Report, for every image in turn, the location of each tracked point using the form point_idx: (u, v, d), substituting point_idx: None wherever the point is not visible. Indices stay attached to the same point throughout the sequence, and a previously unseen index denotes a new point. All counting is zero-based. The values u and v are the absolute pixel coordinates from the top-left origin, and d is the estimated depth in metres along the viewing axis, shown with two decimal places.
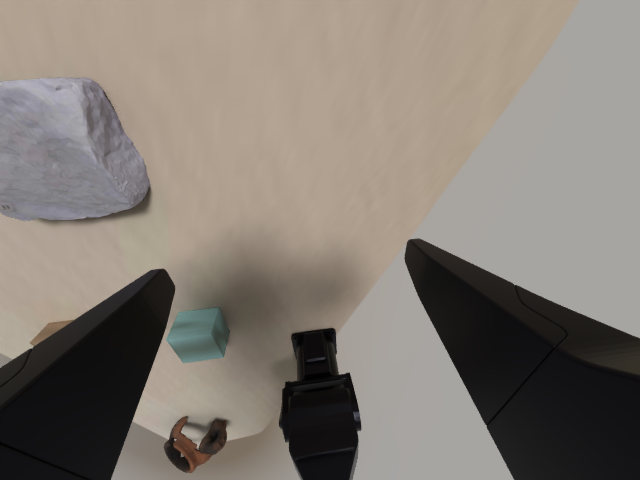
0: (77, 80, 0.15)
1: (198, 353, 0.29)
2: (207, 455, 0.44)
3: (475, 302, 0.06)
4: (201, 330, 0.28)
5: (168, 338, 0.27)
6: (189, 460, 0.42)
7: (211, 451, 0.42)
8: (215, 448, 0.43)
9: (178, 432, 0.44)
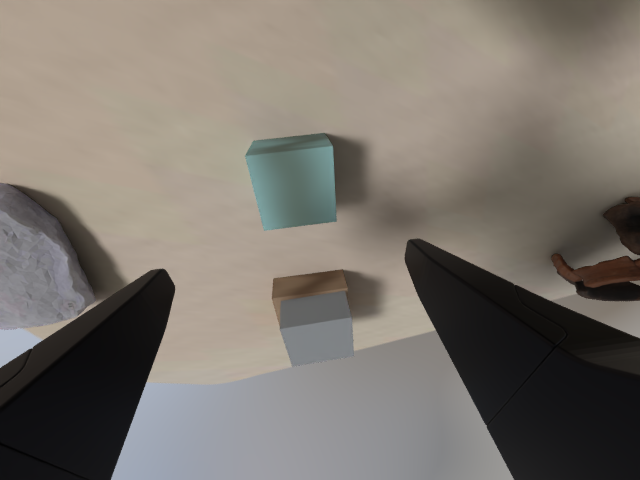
0: None
1: (309, 191, 0.15)
2: None
3: (475, 302, 0.06)
4: None
5: (263, 227, 0.16)
6: None
7: None
8: None
9: (571, 272, 0.24)
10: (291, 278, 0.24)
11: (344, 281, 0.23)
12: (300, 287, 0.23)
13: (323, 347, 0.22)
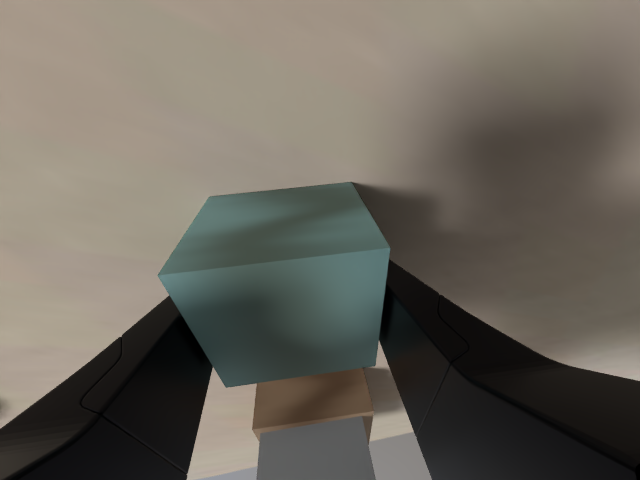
0: None
1: (323, 329, 0.07)
2: None
3: (399, 312, 0.06)
4: None
5: None
6: None
7: None
8: None
9: None
10: (284, 382, 0.15)
11: (367, 394, 0.15)
12: (298, 405, 0.14)
13: None
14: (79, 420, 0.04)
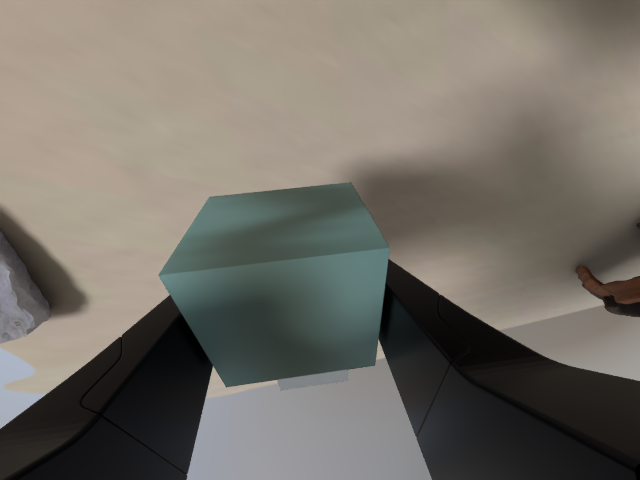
0: None
1: (323, 329, 0.07)
2: None
3: (399, 312, 0.06)
4: None
5: None
6: None
7: None
8: None
9: (599, 286, 0.23)
10: None
11: None
12: None
13: None
14: (79, 419, 0.04)
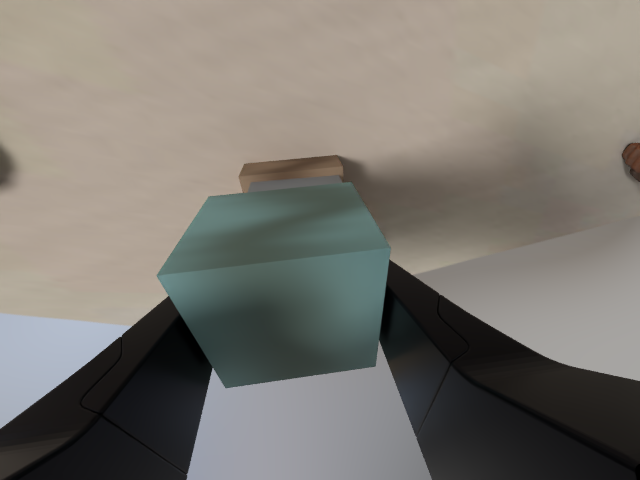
0: None
1: (323, 330, 0.07)
2: None
3: (399, 312, 0.06)
4: None
5: None
6: None
7: None
8: None
9: None
10: (268, 162, 0.18)
11: (339, 162, 0.17)
12: (278, 168, 0.17)
13: None
14: (79, 419, 0.04)
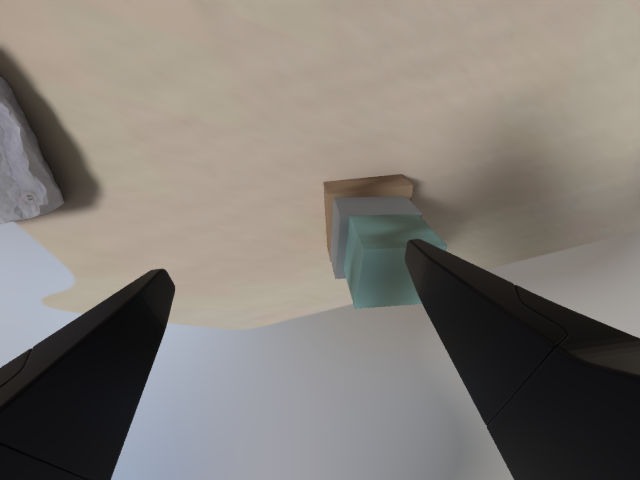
0: None
1: (410, 279, 0.15)
2: None
3: (475, 302, 0.06)
4: (358, 259, 0.15)
5: (354, 305, 0.16)
6: None
7: None
8: None
9: None
10: (344, 181, 0.21)
11: (407, 181, 0.20)
12: (357, 186, 0.20)
13: None
14: None
